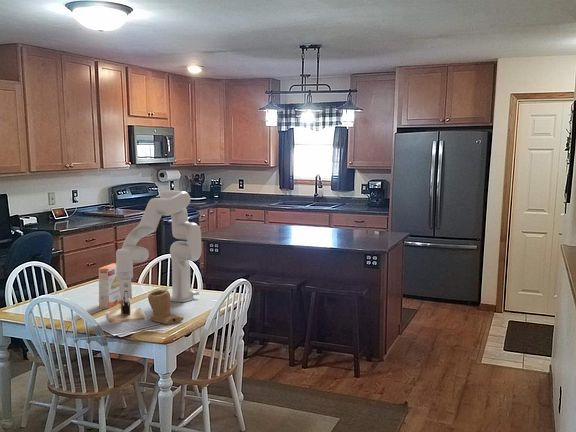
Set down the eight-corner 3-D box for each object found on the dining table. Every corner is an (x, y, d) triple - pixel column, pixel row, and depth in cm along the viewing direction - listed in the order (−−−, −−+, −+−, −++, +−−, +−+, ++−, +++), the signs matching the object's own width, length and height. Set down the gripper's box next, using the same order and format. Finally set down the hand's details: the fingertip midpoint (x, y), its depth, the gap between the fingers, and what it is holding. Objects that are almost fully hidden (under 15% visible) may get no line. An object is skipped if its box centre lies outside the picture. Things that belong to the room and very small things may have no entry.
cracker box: (109, 309, 264) (108, 268, 261) (98, 308, 265) (97, 268, 262) (123, 302, 277) (122, 263, 275) (113, 301, 278) (112, 262, 276)
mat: (142, 310, 263) (142, 309, 263) (147, 321, 247) (147, 319, 247) (104, 314, 257) (104, 312, 256) (106, 325, 240) (106, 324, 240)
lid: (140, 309, 262) (140, 296, 261) (144, 319, 247) (144, 305, 246) (107, 313, 256) (106, 299, 255) (109, 323, 241) (108, 308, 240)
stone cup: (143, 321, 246) (142, 290, 244) (163, 316, 255) (163, 285, 253) (163, 329, 236) (163, 296, 235) (184, 322, 246) (184, 291, 244)
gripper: (134, 278, 243) (135, 316, 245) (131, 270, 258) (131, 306, 260) (117, 279, 240) (118, 318, 242) (115, 271, 255) (116, 308, 258)
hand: (125, 311), depth 251 cm, fingers closed on lid, 4 cm apart
